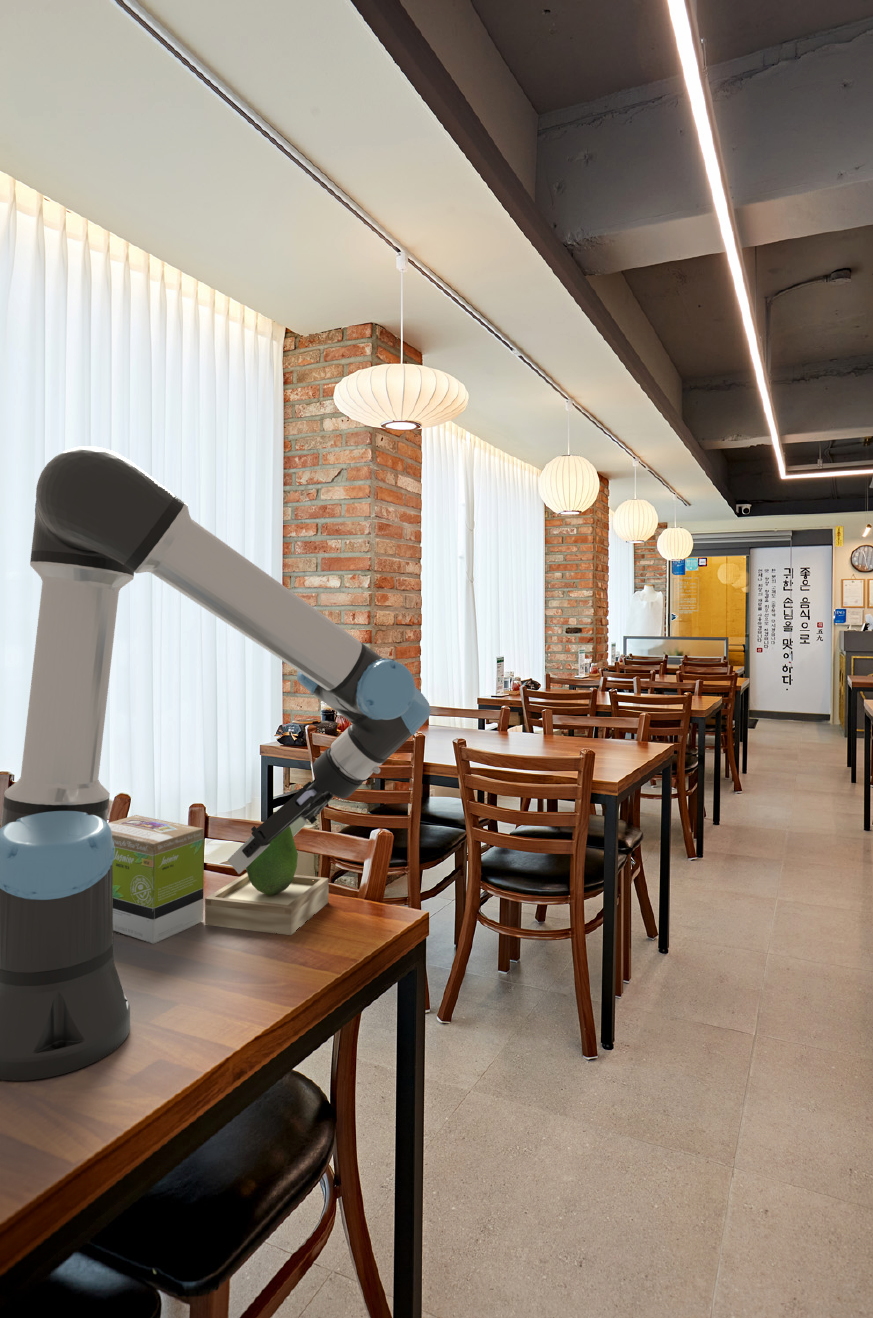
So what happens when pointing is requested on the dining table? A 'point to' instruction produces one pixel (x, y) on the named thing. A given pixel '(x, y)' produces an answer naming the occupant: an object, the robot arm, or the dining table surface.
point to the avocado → (275, 865)
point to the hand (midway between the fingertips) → (256, 853)
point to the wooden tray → (266, 905)
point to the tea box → (156, 877)
